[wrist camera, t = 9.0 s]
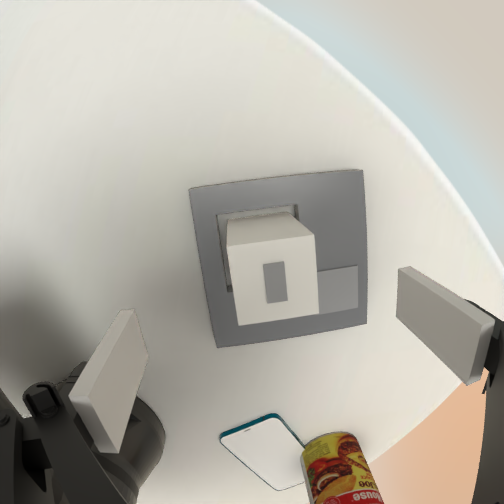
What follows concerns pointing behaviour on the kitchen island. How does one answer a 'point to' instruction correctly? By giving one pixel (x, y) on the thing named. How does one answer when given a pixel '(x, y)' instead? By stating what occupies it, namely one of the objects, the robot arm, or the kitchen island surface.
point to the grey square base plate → (326, 246)
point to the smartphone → (268, 450)
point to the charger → (272, 268)
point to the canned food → (338, 471)
